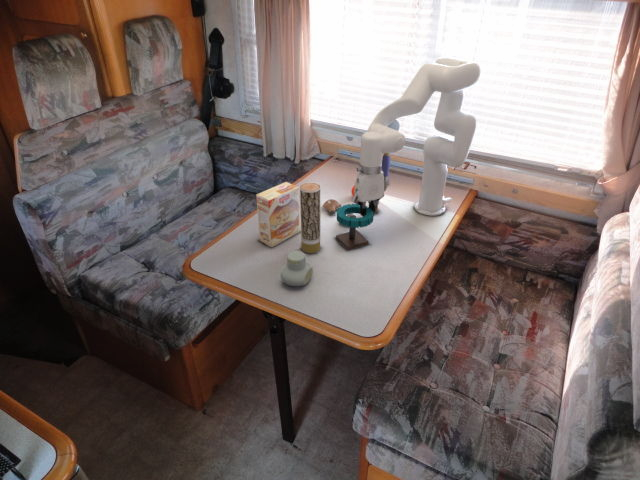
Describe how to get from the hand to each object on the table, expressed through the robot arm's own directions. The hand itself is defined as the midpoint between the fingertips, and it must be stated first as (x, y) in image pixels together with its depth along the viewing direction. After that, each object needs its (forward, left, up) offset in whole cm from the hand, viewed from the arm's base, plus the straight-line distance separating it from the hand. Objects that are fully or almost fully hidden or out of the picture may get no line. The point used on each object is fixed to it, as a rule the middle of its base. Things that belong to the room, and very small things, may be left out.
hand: (367, 214), depth 163 cm
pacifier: (+1, -13, -10) cm, 17 cm away
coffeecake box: (+29, -15, -10) cm, 34 cm away
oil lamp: (+2, -25, -10) cm, 27 cm away
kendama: (-13, -16, -10) cm, 23 cm away
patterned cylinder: (+22, -2, -10) cm, 24 cm away
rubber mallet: (-32, -37, -10) cm, 50 cm away
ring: (+5, 0, 0) cm, 5 cm away
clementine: (-14, -30, -10) cm, 35 cm away
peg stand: (+6, 0, -10) cm, 12 cm away
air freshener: (+34, +13, -10) cm, 38 cm away
